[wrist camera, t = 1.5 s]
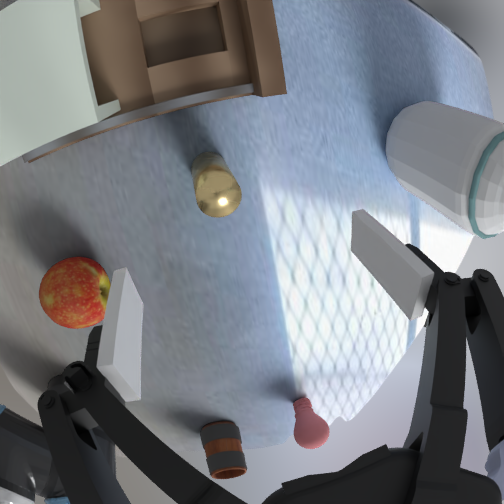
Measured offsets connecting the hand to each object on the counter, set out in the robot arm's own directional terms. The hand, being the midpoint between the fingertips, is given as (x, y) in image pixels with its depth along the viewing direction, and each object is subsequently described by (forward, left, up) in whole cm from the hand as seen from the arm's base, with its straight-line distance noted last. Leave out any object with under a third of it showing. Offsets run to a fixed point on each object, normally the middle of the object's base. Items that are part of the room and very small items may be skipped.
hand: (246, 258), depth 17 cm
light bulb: (+7, -51, -17) cm, 54 cm away
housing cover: (-11, +14, -14) cm, 23 cm away
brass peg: (0, 0, -17) cm, 17 cm away
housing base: (-5, +14, -17) cm, 23 cm away
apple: (-18, -8, -17) cm, 26 cm away
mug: (-12, -56, -17) cm, 60 cm away
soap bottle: (+26, -1, -17) cm, 31 cm away
